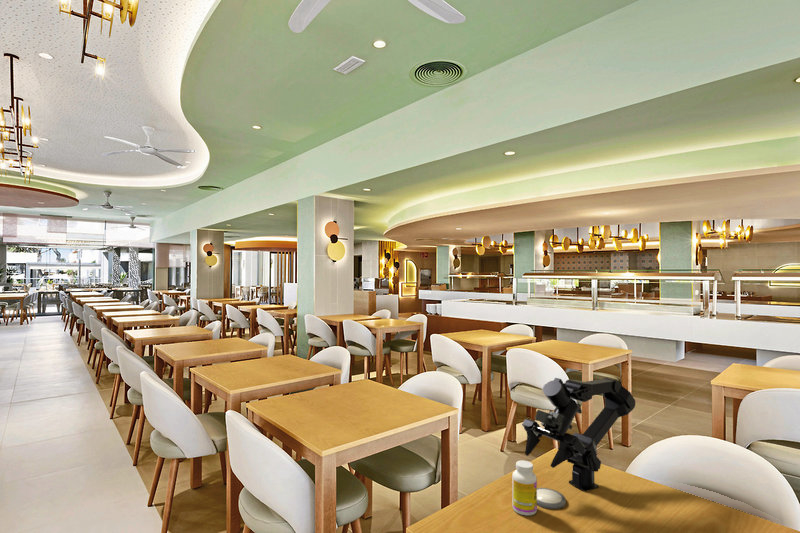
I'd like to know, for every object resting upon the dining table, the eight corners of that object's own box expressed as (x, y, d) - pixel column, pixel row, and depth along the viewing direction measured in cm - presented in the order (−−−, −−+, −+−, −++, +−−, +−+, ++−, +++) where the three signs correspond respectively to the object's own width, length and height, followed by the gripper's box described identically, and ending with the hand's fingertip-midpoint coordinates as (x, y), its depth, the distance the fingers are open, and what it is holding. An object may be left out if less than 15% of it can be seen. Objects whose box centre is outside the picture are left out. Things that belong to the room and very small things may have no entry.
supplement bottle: (538, 518, 113) (538, 470, 113) (513, 515, 114) (513, 468, 114) (535, 505, 119) (535, 459, 120) (511, 502, 120) (511, 457, 121)
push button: (546, 488, 129) (546, 484, 129) (573, 503, 120) (573, 499, 120) (522, 495, 124) (522, 492, 124) (548, 512, 115) (548, 508, 115)
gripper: (525, 392, 131) (500, 434, 125) (578, 408, 115) (552, 457, 109) (542, 413, 135) (519, 455, 129) (595, 431, 119) (571, 479, 113)
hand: (538, 460), depth 120 cm, fingers open, 9 cm apart
